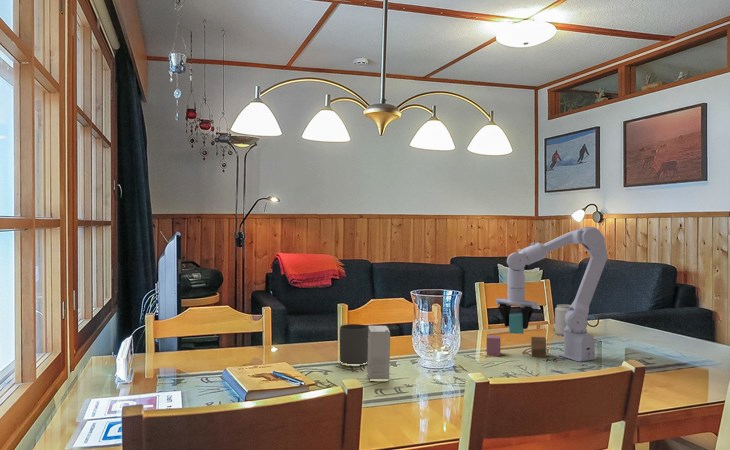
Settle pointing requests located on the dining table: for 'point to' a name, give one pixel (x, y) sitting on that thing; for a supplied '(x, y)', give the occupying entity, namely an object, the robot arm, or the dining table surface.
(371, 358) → the skincare box
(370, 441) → the dining table surface
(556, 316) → the can
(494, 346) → the plum block
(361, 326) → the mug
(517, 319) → the teal block
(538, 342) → the walnut block
